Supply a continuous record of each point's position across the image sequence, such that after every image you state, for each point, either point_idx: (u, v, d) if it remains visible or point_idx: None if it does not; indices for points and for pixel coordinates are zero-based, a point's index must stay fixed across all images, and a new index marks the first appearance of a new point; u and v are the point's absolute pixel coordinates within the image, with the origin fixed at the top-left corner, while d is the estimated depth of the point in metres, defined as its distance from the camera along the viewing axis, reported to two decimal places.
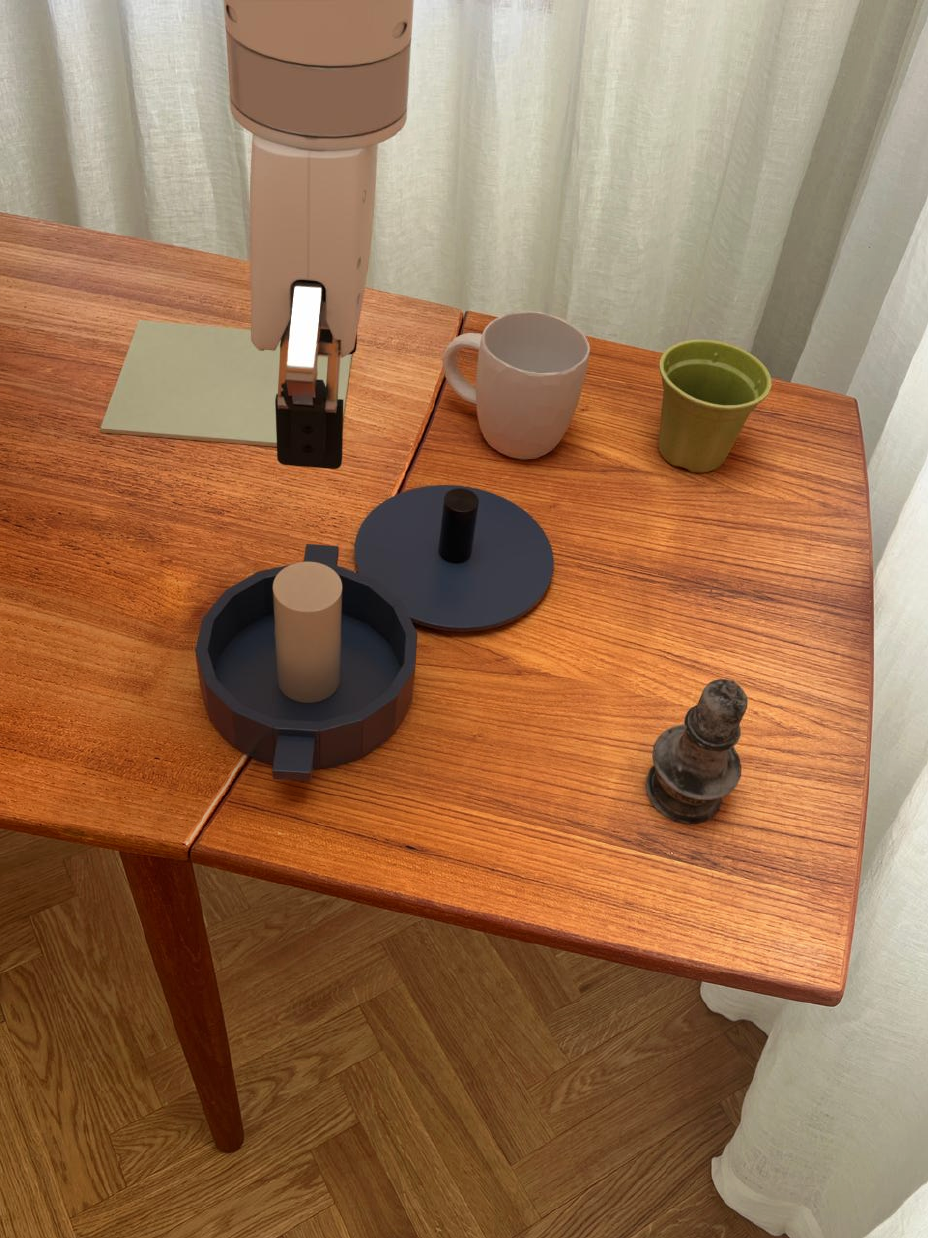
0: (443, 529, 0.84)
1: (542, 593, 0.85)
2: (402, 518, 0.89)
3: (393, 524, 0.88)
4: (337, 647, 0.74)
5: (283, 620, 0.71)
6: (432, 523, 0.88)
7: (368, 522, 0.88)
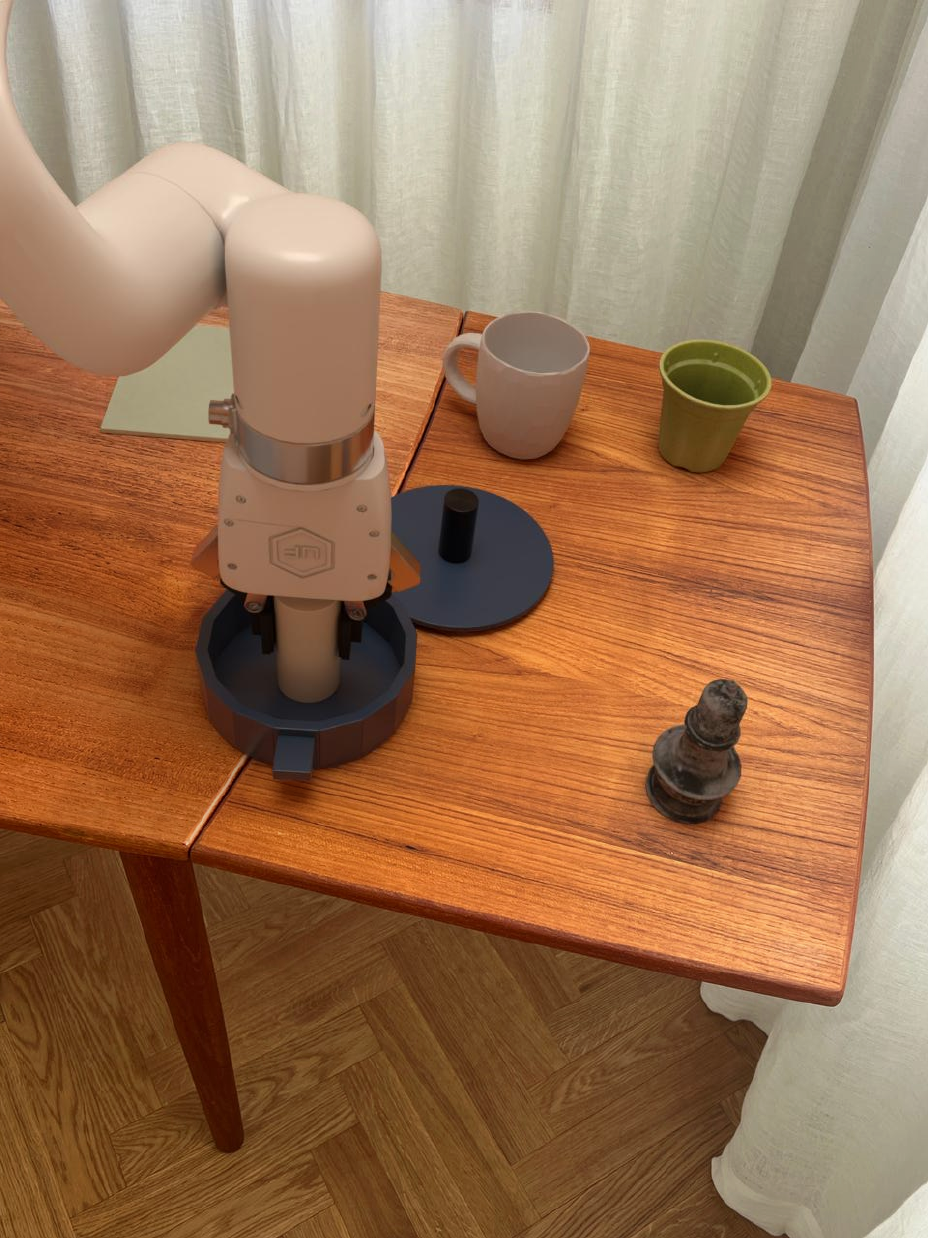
0: (443, 529, 0.84)
1: (542, 593, 0.85)
2: (402, 518, 0.89)
3: (393, 524, 0.88)
4: (337, 647, 0.74)
5: (283, 620, 0.71)
6: (432, 523, 0.88)
7: None
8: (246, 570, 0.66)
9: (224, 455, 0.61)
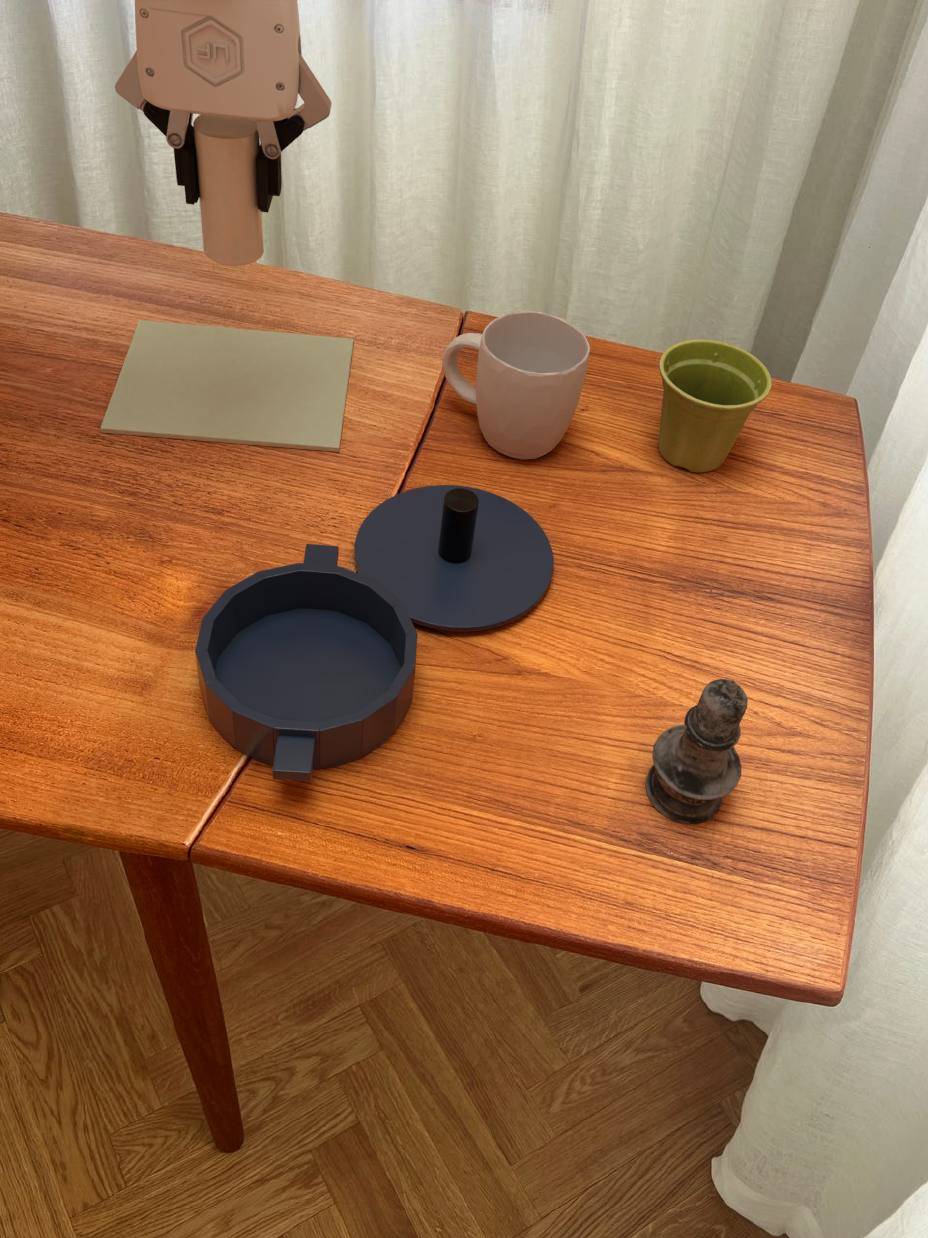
0: (443, 529, 0.84)
1: (542, 593, 0.85)
2: (402, 518, 0.89)
3: (393, 524, 0.88)
4: None
5: (203, 154, 0.76)
6: (432, 523, 0.88)
7: (368, 522, 0.88)
8: (162, 76, 0.71)
9: None
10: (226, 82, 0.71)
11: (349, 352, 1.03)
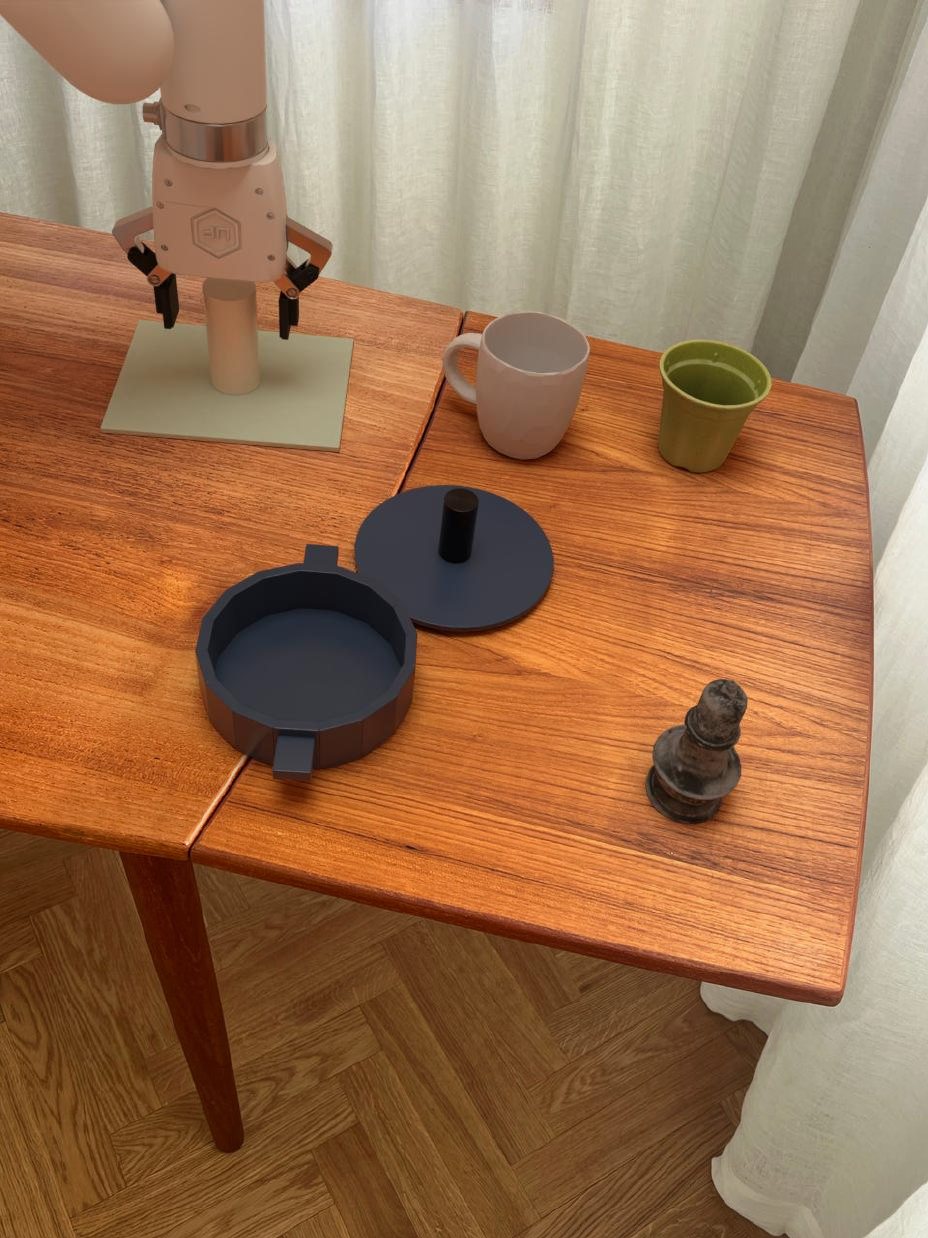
0: (443, 529, 0.84)
1: (542, 593, 0.85)
2: (402, 518, 0.89)
3: (393, 524, 0.88)
4: (255, 343, 0.95)
5: (210, 312, 0.92)
6: (432, 523, 0.88)
7: (368, 522, 0.88)
8: (175, 250, 0.87)
9: (155, 146, 0.82)
10: (227, 255, 0.87)
11: (349, 352, 1.03)
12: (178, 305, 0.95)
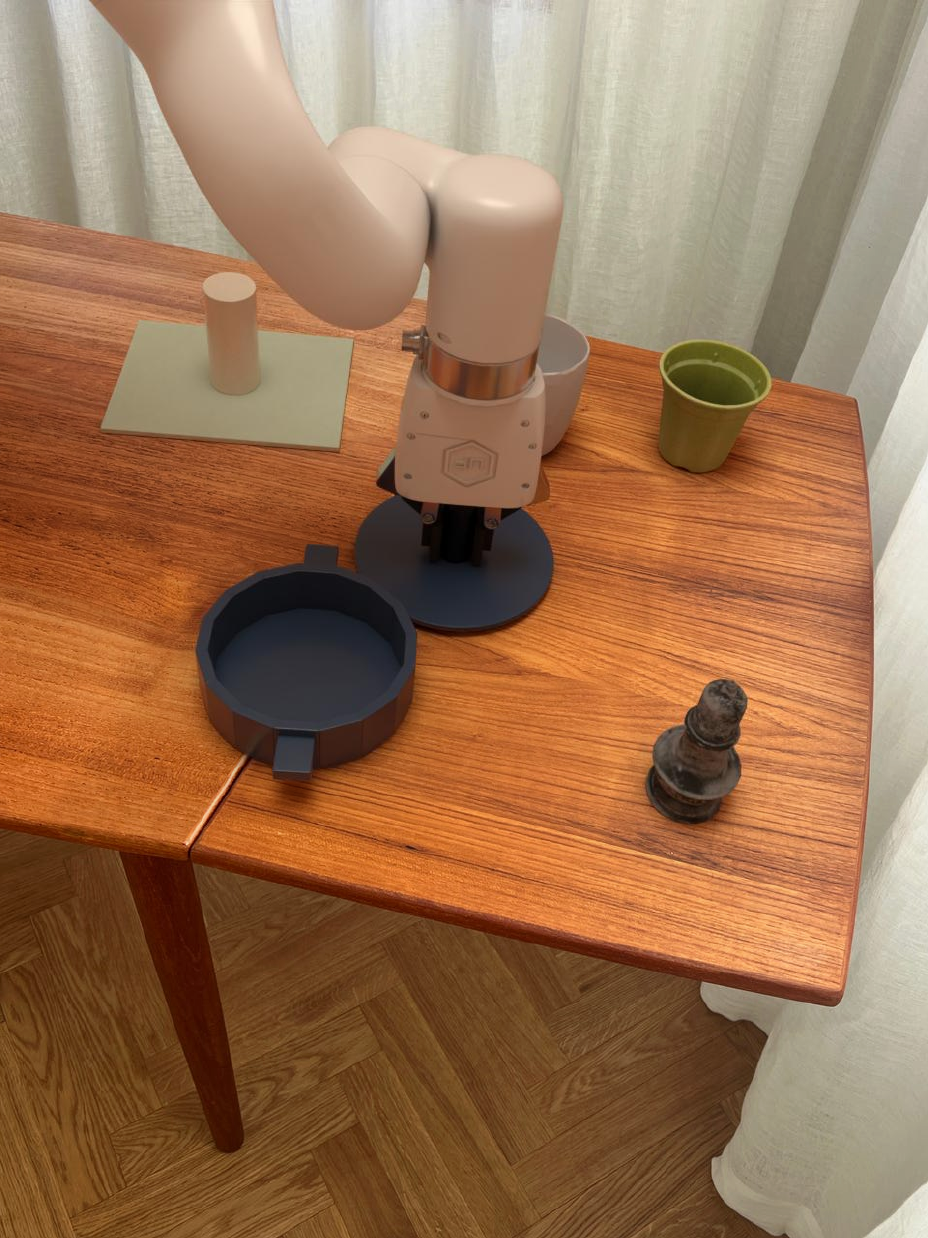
0: (443, 529, 0.84)
1: (542, 593, 0.85)
2: (402, 518, 0.89)
3: (393, 524, 0.88)
4: (255, 343, 0.95)
5: (210, 312, 0.92)
6: None
7: (368, 522, 0.88)
8: (419, 479, 0.77)
9: (412, 377, 0.73)
10: (477, 484, 0.78)
11: (349, 352, 1.03)
12: None
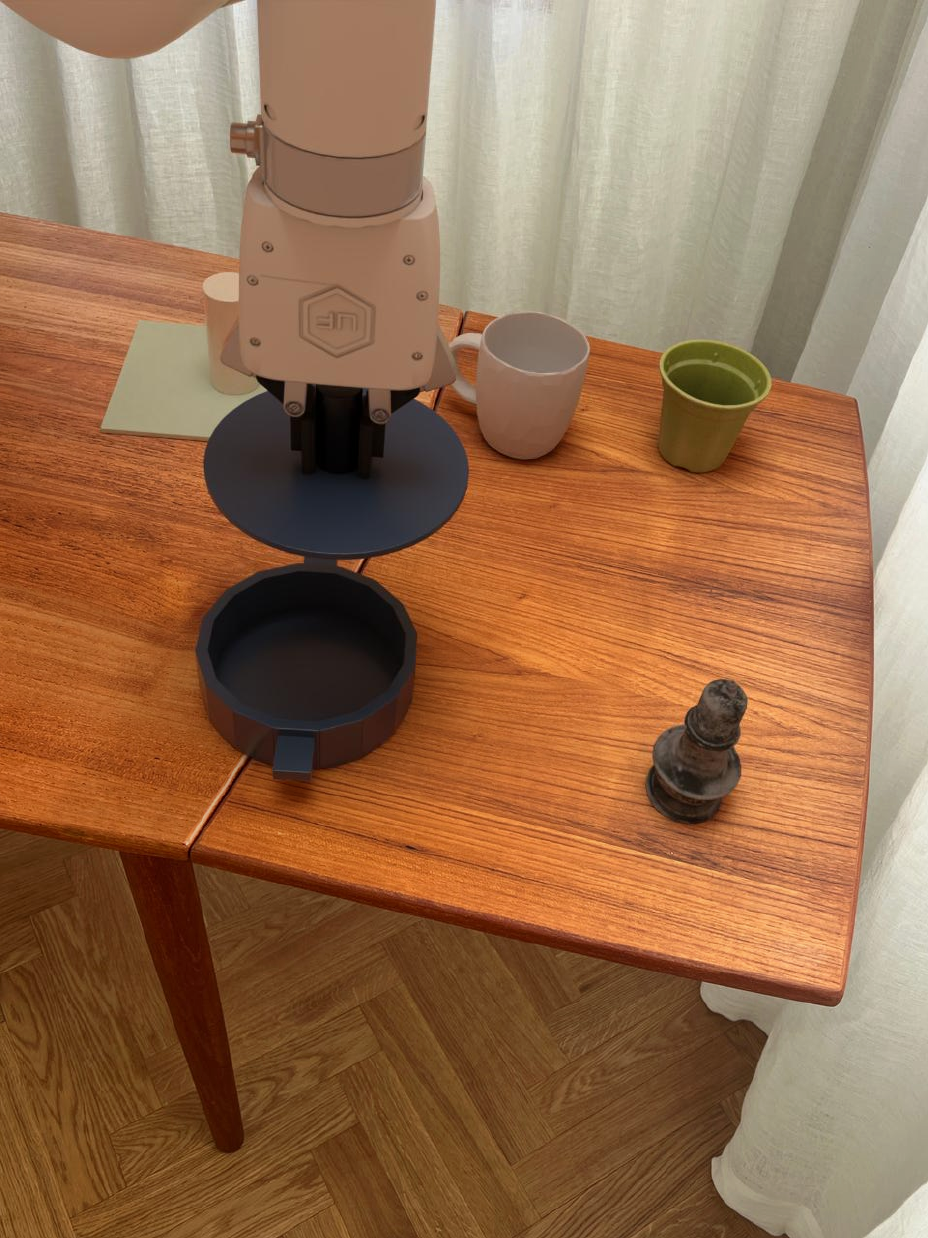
0: (318, 426, 0.63)
1: (451, 512, 0.64)
2: (272, 419, 0.68)
3: (259, 426, 0.67)
4: None
5: (210, 312, 0.92)
6: None
7: (226, 423, 0.67)
8: (271, 347, 0.57)
9: (248, 191, 0.52)
10: (350, 353, 0.57)
11: None
12: None
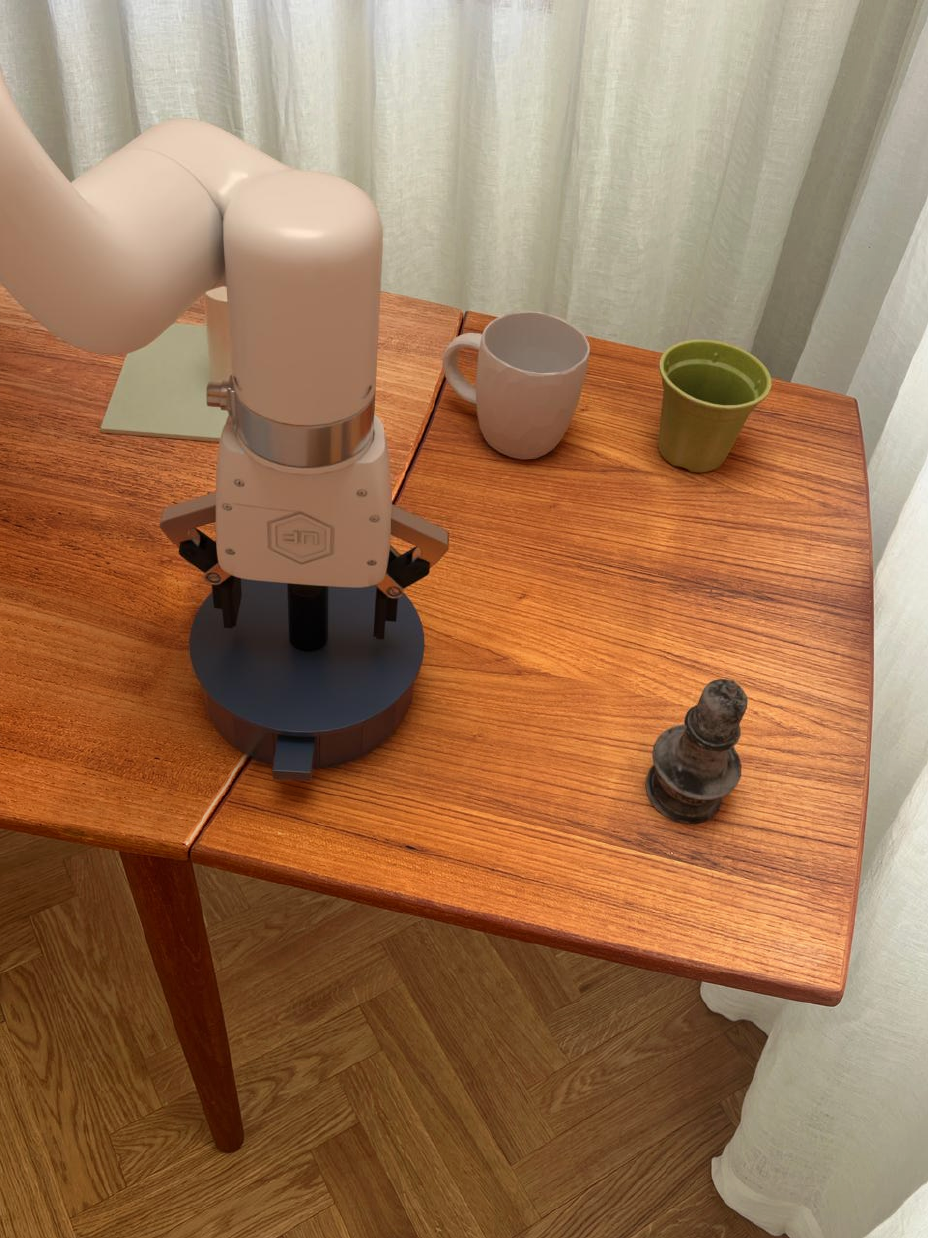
0: (289, 614, 0.72)
1: (407, 688, 0.72)
2: (251, 596, 0.76)
3: (240, 603, 0.76)
4: None
5: (210, 312, 0.92)
6: (286, 602, 0.76)
7: (210, 601, 0.76)
8: (244, 555, 0.65)
9: (222, 438, 0.60)
10: (313, 561, 0.65)
11: None
12: (241, 591, 0.73)
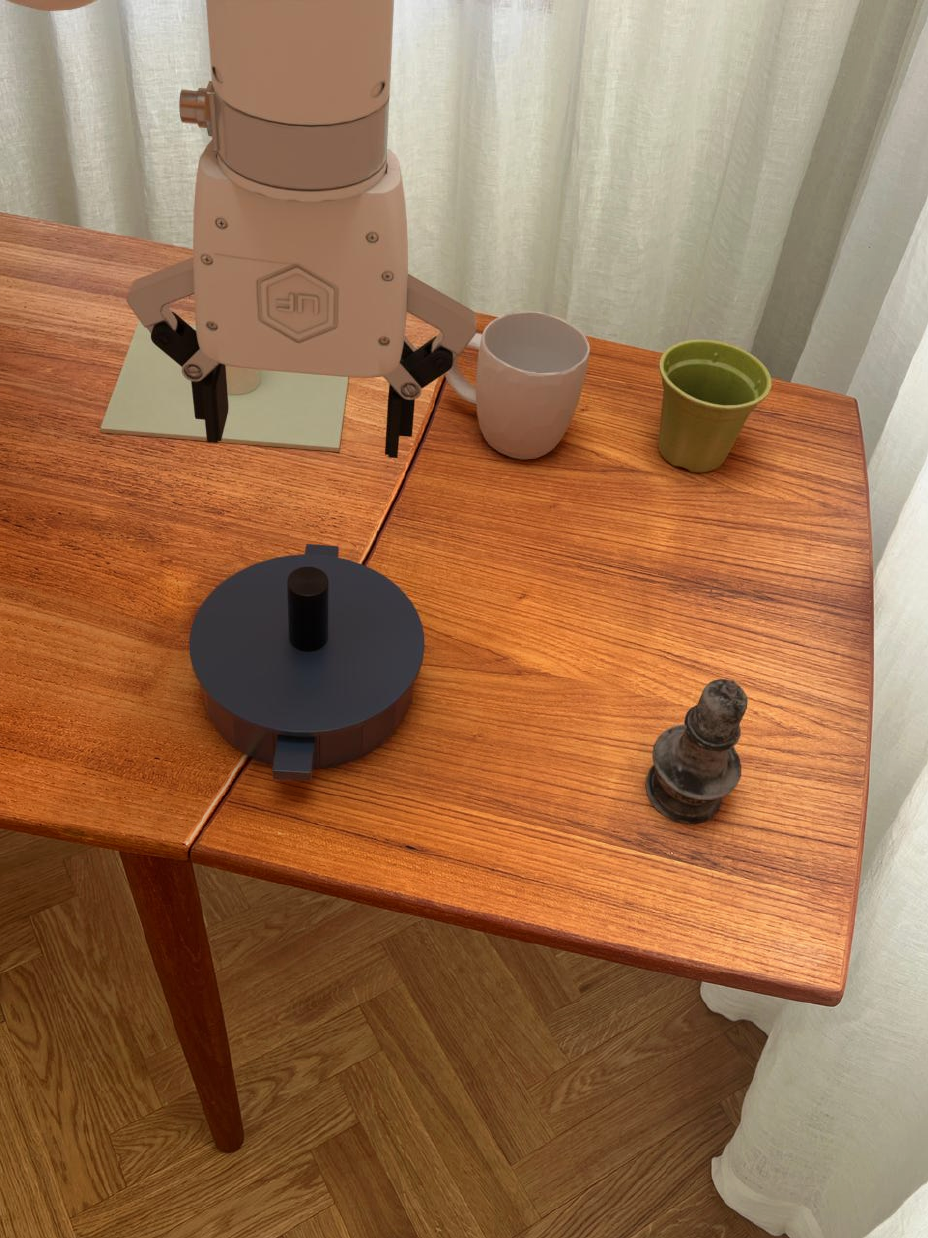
0: (289, 614, 0.72)
1: (407, 688, 0.72)
2: (251, 596, 0.76)
3: (240, 603, 0.76)
4: None
5: None
6: (286, 602, 0.76)
7: (210, 601, 0.76)
8: (229, 331, 0.53)
9: (200, 164, 0.49)
10: (313, 338, 0.54)
11: None
12: (227, 404, 0.62)
